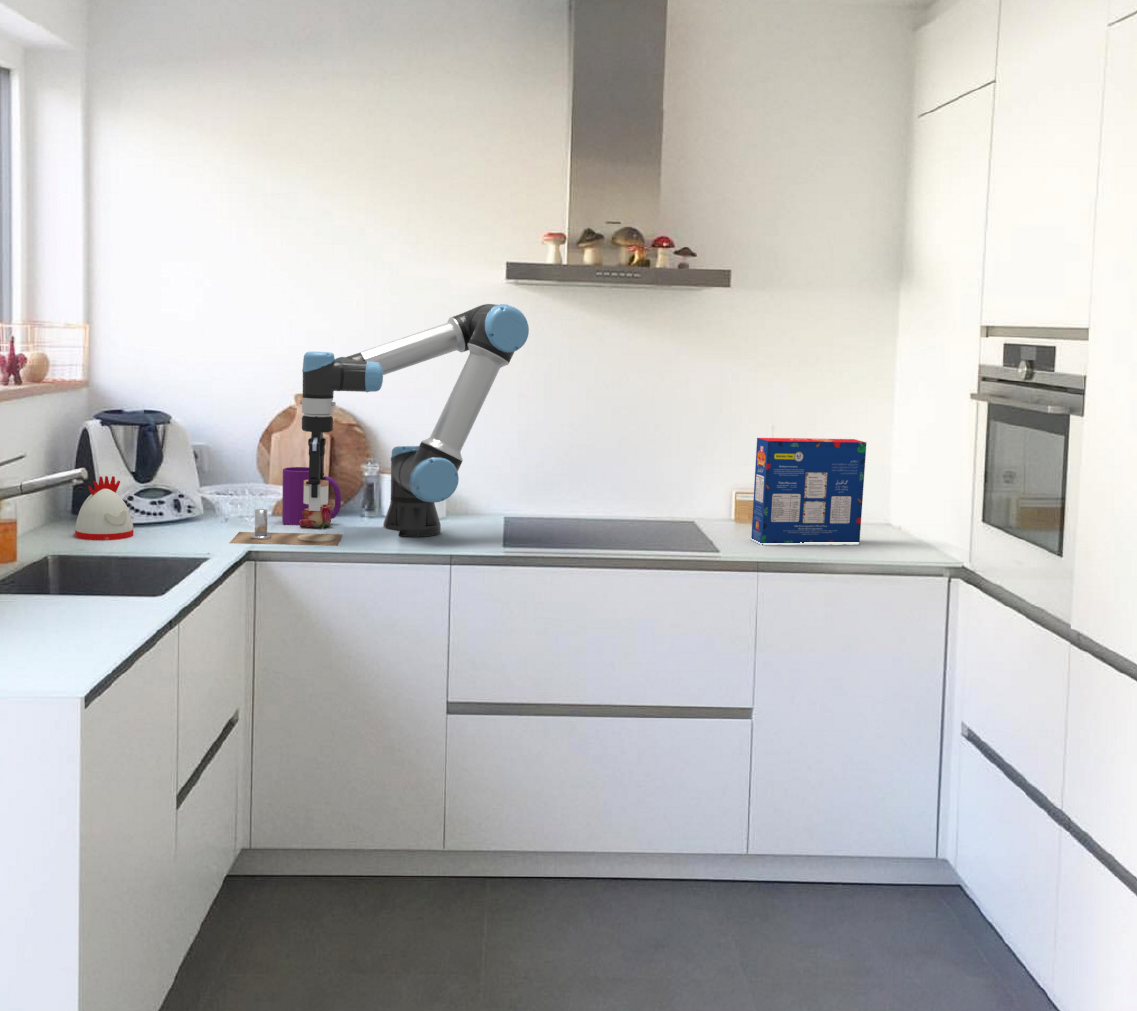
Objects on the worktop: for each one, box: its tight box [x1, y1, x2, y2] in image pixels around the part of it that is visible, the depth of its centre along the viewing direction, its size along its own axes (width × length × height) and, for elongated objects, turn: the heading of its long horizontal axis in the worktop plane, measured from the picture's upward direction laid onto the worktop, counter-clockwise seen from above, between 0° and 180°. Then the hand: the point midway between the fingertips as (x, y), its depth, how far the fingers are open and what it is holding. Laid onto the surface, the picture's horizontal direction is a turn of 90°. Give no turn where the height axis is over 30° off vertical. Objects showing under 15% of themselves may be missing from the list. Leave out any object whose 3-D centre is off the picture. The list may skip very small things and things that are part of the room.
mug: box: [281, 466, 342, 526], centre depth 376 cm, size 9×16×15 cm, turn 97°
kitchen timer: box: [74, 475, 134, 541], centre depth 349 cm, size 14×14×15 cm
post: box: [251, 508, 271, 540], centre depth 345 cm, size 5×5×7 cm
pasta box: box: [750, 437, 867, 543], centre depth 376 cm, size 28×8×28 cm, turn 103°
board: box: [229, 531, 344, 547], centre depth 347 cm, size 26×16×2 cm, turn 95°
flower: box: [298, 504, 337, 529], centre depth 365 cm, size 10×9×8 cm
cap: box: [303, 480, 330, 505], centre depth 345 cm, size 6×6×6 cm
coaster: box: [298, 533, 335, 542], centre depth 347 cm, size 9×9×1 cm
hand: (315, 508), depth 346 cm, fingers closed on cap, 6 cm apart
